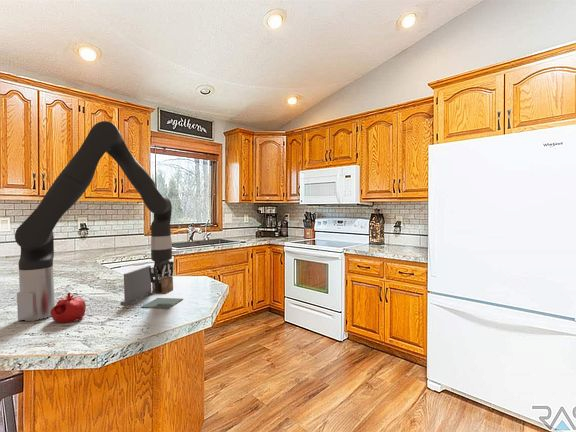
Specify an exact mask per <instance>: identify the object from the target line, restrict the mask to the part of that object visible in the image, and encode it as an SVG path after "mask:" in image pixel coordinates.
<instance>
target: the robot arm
mask: <svg viewBox="0 0 576 432" xmlns="http://www.w3.org/2000/svg"><path fill="white" fill-rule="evenodd" d="M105 153H107V154H108V155H109V156H110V157H111V158H112V159H113V160H114V161H115V163H117V165H118V166H119V167H120V169H121V171H122V172H123V174H124V175H125V177H126V179H128V181H129V183H130V184H131V185H132V187H133V188H134V189H135V190H136V192H137V193H138V194H139V195H140V198H141V199H142V201H143V203H144V205H145V206H146V209H148V210H149V211H150V212H151V213H152V214H153V220H152V222H151V224H150V259H151V261H153V262H154V264H153V266H152V267H151V268H149V273H150V279H151V284H152V283H155V292H156V293H161V292H162V287H161V281H162V277H164V276H174V266H175V262H174V261H170V260H171V259H173V243H172V233H171V232H172V231H171V221H172V220H171V219H172V208H173V206H172V201H171V200H170V198H169V197H167V196H165V195H162V194H161V192H160V191H159V189H157V185H156V182H155V181H154V180H153V179H152V177H151V175H150V174H149V173H148V172H147V170H145V168H144V167H143V166H142V165H141V164H140V163H139V161H138V160H136V158H135V157H134V155H133V154H132V153H131V151H130V150H129V147H128V146H127V144H126V142H125V140H124V138H123V135H122V133H121V132H120V130H119V129H118V127H117V126H116V125H115V124H114V123H113V122H110V121H107V120H103V121H99V122H97V123H95V124H94V125H93V126H92V127H91V129H90V130H89V132H88V134H87V136H86V137H85V139H84V140H83V142H82V144H81V145H80V147H79V149H78V150H77V151H76V152H75V154H74V155H73V157H72V158H71V159H70V160H69V162H68V163H67V165H66V166H64V168H63V169H62V170H61V172H60V173H59V174H58V176H57V177H56V178H55V180H54V181H53V182H52V184H51V185H50V186H49V189H47V192H46V193H44V194H45V195H44V196H43V198H42V200H41V201H40V203H39V204H38V205H37V207H35V209H34V211H32V213H31V214H30V215H29V216H28V217H27V218H26V219H24V221H23V222H22V223H21V224H20V225H19V226H18V227H17V228H16V230H15V232H14V240H15V242H16V244H17V245H18V246H19V247H20V257H19V260H18V284H19V291H18V292H17V293H16V304H17V306H16V308H17V321H18V320H25V321H24V322H36V321H39V319H40V320H44V319H47V317H48V318H51V317H52V316H51V313H50V312H51V309H52V308H53V307H55V306H56V305H55V281H54V280H55V279H54V256H55V243H54V229H55V227H56V225H57V224H58V222H59V221H60V220H61V218H62V217H63V216H64V215H65V213H66V212H67V211H68V210H70V208H72V207H73V206H74V205H75V204H76V203H77V201H79V199H80V198H81V197H82V196H83V194H84V193H85V192H86V190H87V189H88V188H89V186H90V184H91V182H92V181H93V178H94V175H95V173H96V169H97V167H98V164H99V162H100V161H101V159H102V157H103V156H104V155H105ZM158 274H161V275H158ZM158 277H159V279H158ZM43 318H44V319H43ZM35 320H36V321H35Z"/></svg>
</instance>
